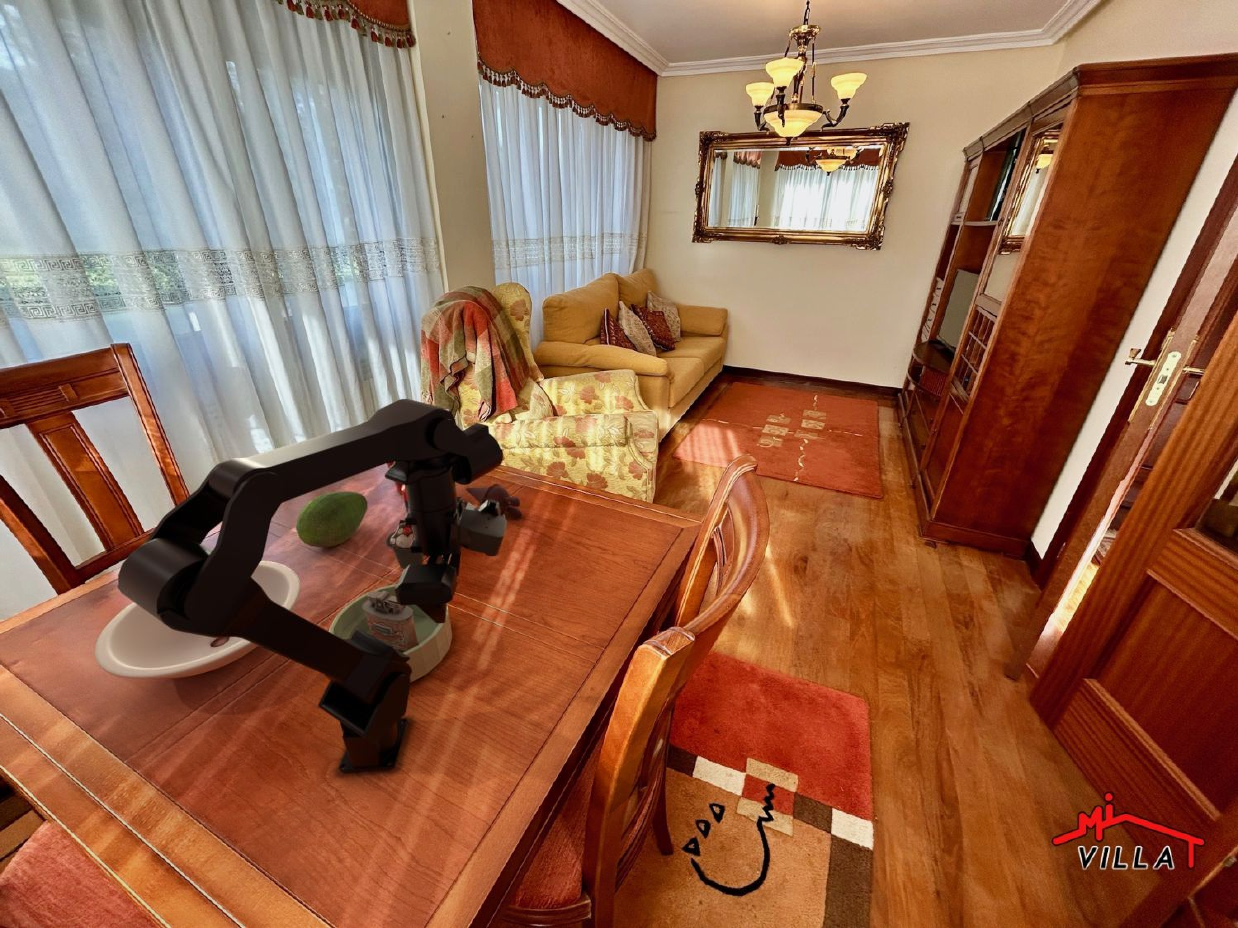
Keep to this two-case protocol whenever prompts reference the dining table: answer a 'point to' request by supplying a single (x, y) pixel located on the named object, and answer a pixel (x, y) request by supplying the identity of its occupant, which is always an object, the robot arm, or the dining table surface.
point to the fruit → (331, 518)
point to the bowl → (428, 632)
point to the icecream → (497, 498)
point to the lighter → (390, 621)
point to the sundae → (404, 545)
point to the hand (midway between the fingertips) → (448, 597)
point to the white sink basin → (181, 636)
